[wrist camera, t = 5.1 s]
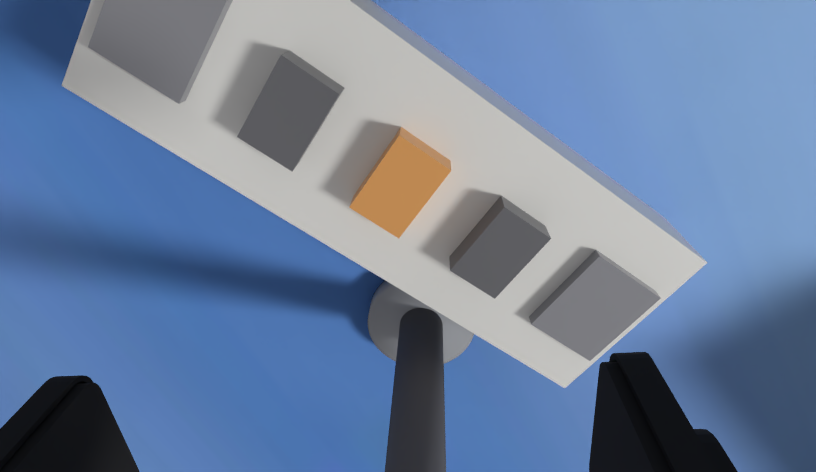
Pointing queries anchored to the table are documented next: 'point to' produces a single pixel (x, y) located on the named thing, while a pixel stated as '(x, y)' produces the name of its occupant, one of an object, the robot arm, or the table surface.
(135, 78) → the breaker strip
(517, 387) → the table surface
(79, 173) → the table surface
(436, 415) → the post
